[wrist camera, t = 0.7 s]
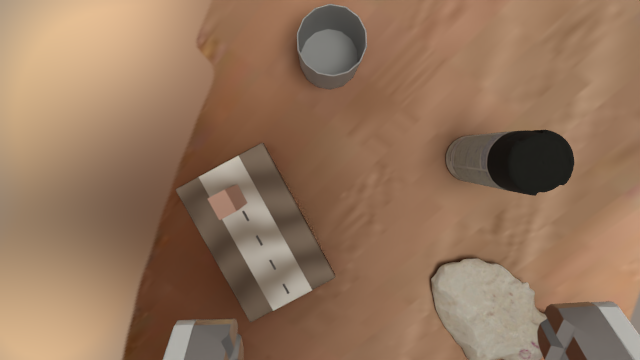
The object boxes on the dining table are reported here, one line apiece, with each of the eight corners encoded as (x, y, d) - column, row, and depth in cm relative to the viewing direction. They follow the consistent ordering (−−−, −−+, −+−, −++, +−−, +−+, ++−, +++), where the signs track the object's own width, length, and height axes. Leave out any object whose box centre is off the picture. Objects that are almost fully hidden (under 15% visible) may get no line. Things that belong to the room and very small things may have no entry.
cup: (325, 101, 59) (327, 90, 49) (288, 57, 58) (282, 37, 48) (370, 62, 58) (381, 43, 48) (332, 17, 58) (336, -11, 48)
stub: (247, 202, 57) (236, 211, 49) (232, 210, 58) (219, 220, 50) (237, 184, 57) (224, 189, 49) (222, 192, 57) (207, 198, 49)
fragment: (519, 383, 62) (531, 404, 57) (401, 317, 64) (403, 332, 59) (574, 302, 60) (591, 317, 55) (450, 236, 61) (457, 244, 56)
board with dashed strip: (334, 274, 60) (335, 278, 58) (252, 318, 61) (249, 323, 59) (263, 143, 59) (261, 142, 57) (179, 188, 59) (174, 189, 57)
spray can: (495, 172, 60) (586, 182, 40) (452, 188, 60) (520, 206, 40) (481, 129, 59) (565, 117, 39) (437, 145, 59) (499, 141, 39)
